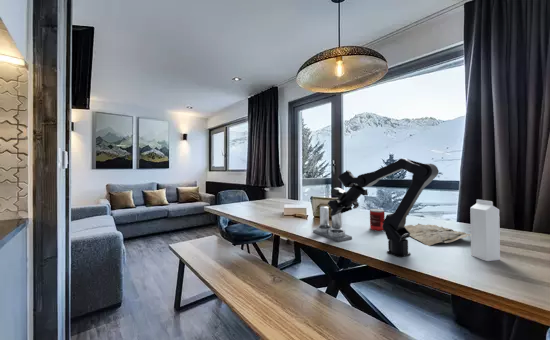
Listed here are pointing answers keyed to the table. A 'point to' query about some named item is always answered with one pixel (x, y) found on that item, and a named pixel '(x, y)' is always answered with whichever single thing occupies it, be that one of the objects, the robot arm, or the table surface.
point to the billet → (336, 221)
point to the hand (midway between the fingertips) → (334, 214)
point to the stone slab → (434, 234)
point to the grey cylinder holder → (329, 227)
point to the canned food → (377, 219)
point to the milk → (485, 231)
